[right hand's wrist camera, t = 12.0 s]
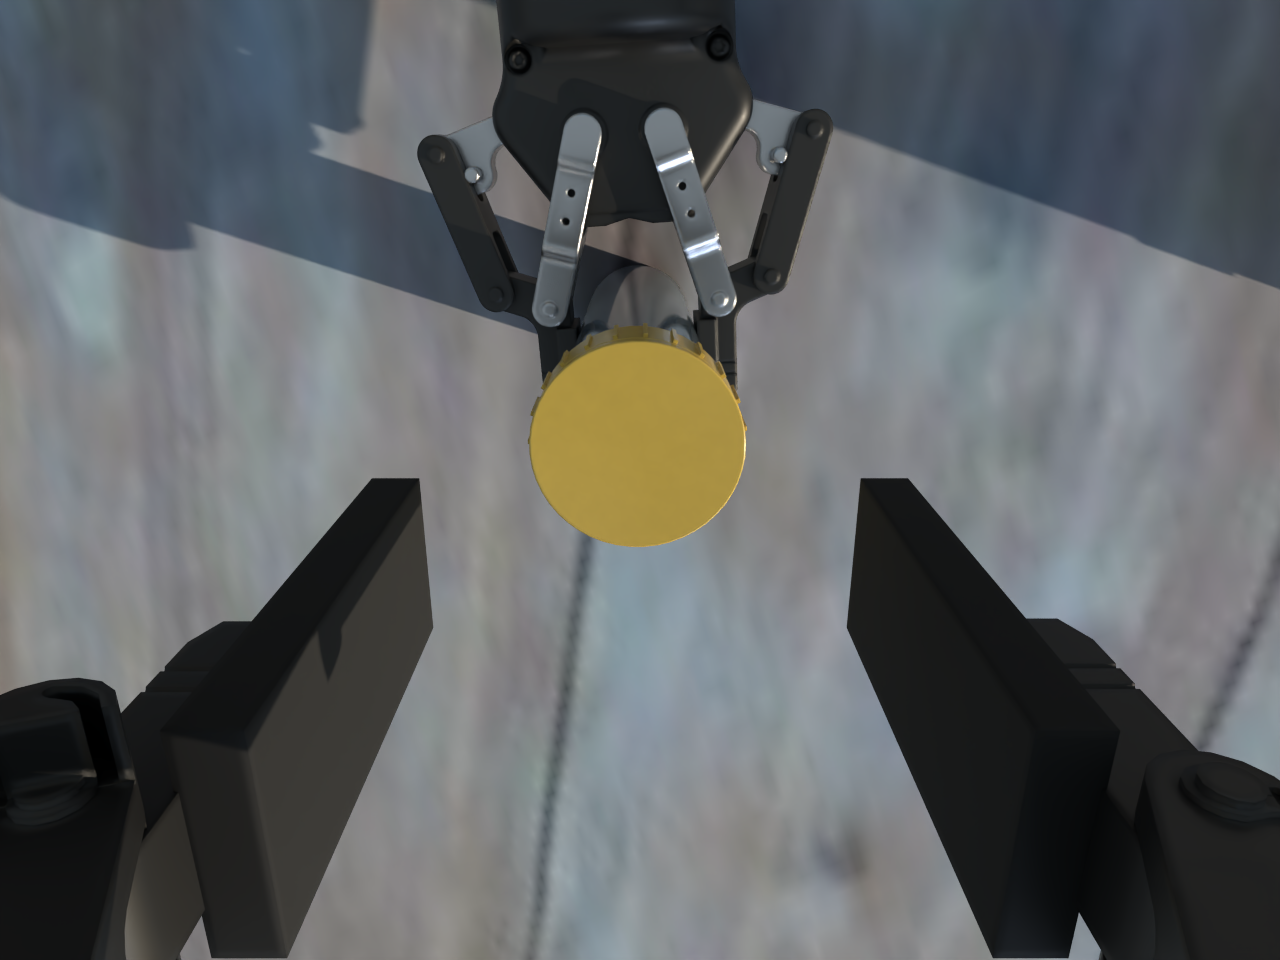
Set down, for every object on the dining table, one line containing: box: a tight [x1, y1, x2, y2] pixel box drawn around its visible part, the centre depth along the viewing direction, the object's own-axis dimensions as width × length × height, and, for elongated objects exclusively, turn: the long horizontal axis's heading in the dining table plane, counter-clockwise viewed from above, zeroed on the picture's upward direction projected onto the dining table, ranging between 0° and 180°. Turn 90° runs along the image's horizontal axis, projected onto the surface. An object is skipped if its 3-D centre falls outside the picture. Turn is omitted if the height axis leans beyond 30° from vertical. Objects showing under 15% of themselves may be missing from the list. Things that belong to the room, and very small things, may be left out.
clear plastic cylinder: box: [575, 265, 700, 347], centre depth 29 cm, size 4×4×18 cm
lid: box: [528, 323, 747, 547], centre depth 21 cm, size 5×5×2 cm
